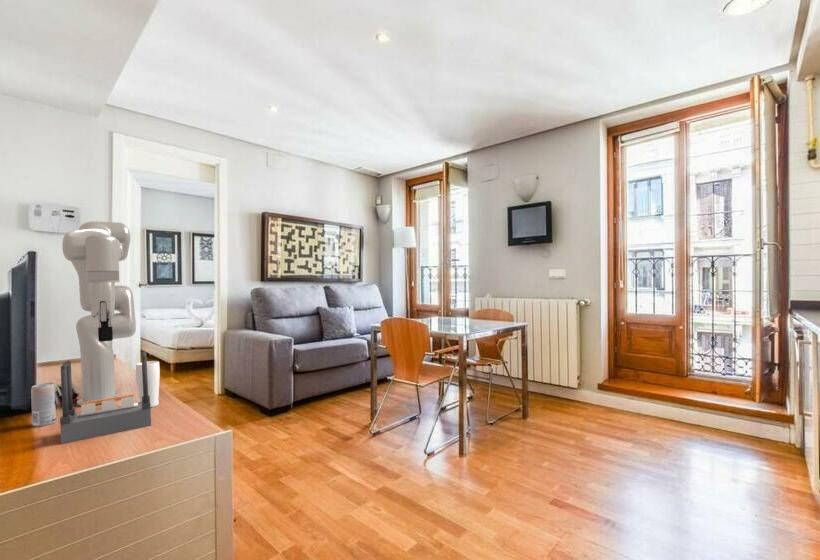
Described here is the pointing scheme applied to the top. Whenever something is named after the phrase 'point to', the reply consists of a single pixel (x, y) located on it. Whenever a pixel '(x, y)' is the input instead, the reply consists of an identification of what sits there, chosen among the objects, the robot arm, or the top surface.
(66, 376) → the dark gray upright panel
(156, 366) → the white cylinder
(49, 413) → the energy drink
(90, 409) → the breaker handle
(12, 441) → the top surface
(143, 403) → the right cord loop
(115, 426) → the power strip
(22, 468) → the top surface
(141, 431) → the top surface
